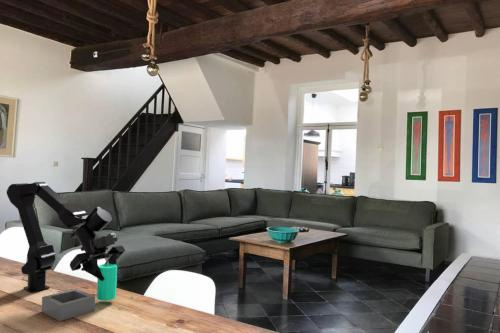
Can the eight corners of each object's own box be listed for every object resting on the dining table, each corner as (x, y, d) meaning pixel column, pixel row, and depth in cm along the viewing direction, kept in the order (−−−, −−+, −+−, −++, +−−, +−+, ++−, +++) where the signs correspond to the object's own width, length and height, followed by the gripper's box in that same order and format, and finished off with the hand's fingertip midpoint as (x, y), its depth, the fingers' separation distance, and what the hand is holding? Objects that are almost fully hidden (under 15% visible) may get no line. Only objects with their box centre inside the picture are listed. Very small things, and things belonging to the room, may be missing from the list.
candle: (109, 301, 125) (111, 264, 124) (92, 299, 126) (94, 262, 126) (119, 295, 130) (121, 259, 130) (103, 293, 132) (105, 258, 132)
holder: (41, 311, 119) (42, 296, 119) (75, 302, 127) (76, 288, 127) (59, 321, 112) (60, 305, 112) (94, 310, 121) (94, 296, 121)
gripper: (77, 229, 122) (99, 270, 116) (122, 222, 138) (144, 258, 133) (60, 250, 126) (81, 290, 120) (106, 241, 142) (126, 276, 137)
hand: (110, 278), depth 127 cm, fingers closed on candle, 5 cm apart
